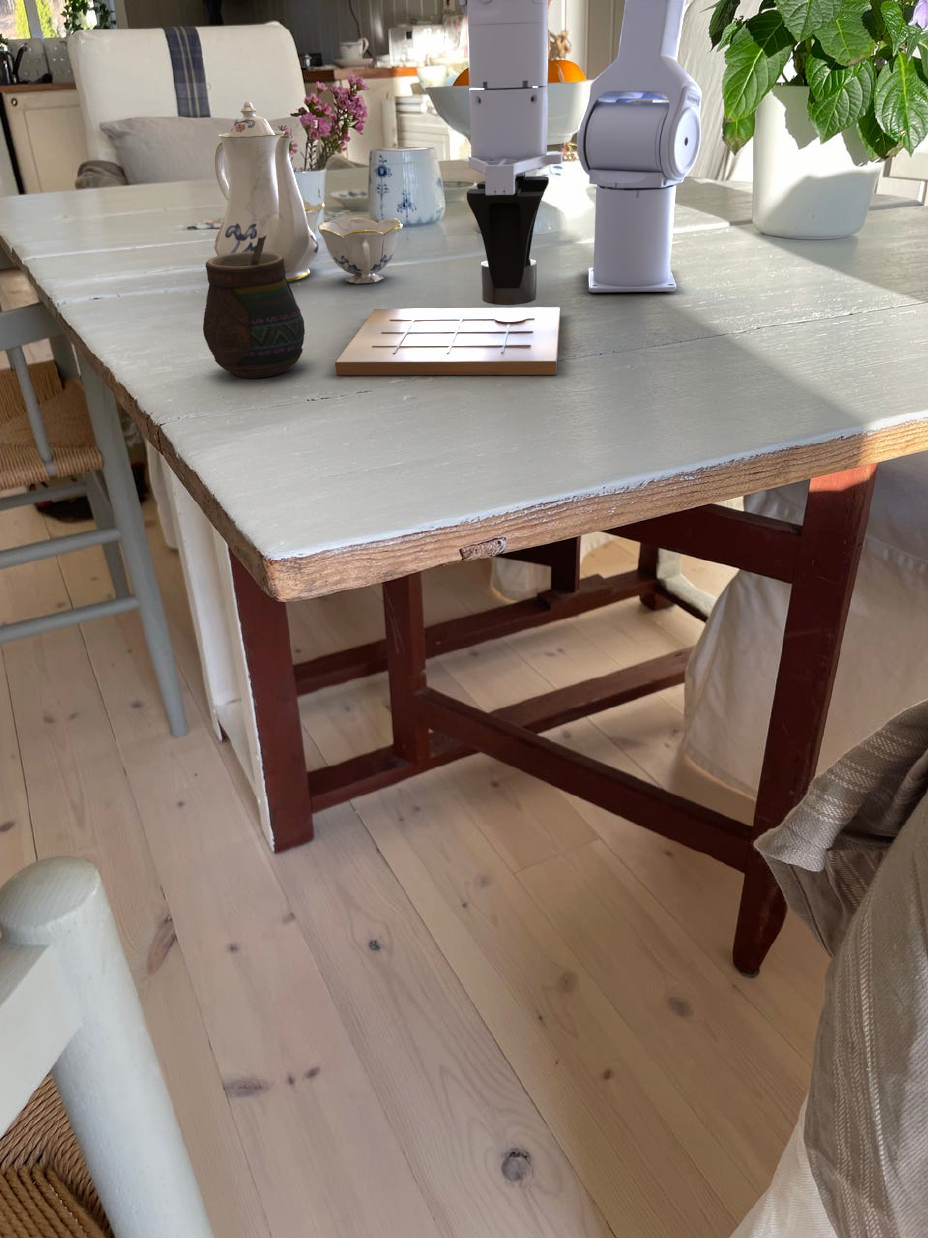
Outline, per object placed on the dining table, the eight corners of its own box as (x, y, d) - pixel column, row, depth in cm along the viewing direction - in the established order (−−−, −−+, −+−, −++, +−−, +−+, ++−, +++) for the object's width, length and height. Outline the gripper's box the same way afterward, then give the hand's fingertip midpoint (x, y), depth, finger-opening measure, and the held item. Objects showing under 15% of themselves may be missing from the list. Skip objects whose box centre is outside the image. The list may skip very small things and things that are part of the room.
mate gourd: (274, 350, 77) (256, 216, 72) (331, 368, 72) (316, 225, 67) (194, 371, 73) (169, 230, 68) (248, 391, 68) (226, 241, 63)
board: (375, 320, 85) (374, 307, 84) (560, 318, 83) (560, 305, 82) (336, 375, 71) (334, 360, 70) (556, 374, 69) (556, 359, 69)
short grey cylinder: (475, 304, 77) (474, 267, 76) (490, 291, 81) (490, 256, 80) (528, 306, 76) (528, 268, 75) (542, 293, 80) (542, 257, 78)
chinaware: (434, 294, 99) (440, 111, 92) (292, 305, 90) (286, 101, 82) (292, 259, 118) (288, 105, 111) (162, 265, 108) (147, 96, 101)
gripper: (558, 90, 64) (555, 301, 71) (567, 81, 76) (564, 262, 83) (452, 93, 65) (460, 301, 72) (478, 84, 77) (482, 262, 84)
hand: (510, 280), depth 78 cm, fingers closed on short grey cylinder, 4 cm apart
